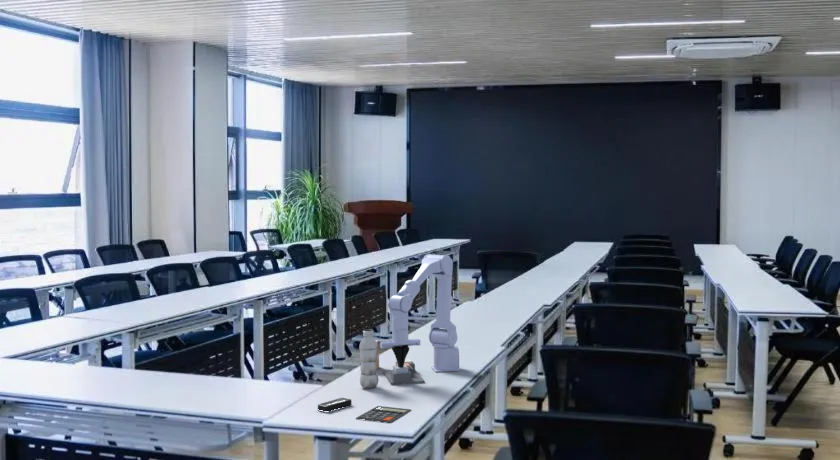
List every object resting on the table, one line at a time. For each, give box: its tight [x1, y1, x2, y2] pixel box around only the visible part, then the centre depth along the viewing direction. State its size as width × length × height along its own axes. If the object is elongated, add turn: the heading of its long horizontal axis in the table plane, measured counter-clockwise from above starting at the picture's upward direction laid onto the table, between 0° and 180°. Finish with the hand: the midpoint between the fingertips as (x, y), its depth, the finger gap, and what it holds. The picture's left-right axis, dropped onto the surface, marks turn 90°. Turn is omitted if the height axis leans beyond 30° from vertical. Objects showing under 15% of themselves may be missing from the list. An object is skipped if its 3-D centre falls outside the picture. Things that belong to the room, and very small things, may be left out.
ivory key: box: [404, 358, 413, 364], centre depth 312 cm, size 4×4×2 cm
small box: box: [359, 339, 380, 369], centre depth 320 cm, size 8×6×10 cm
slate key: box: [393, 365, 408, 374], centre depth 298 cm, size 4×4×2 cm
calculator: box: [355, 405, 412, 424], centre depth 257 cm, size 12×1×15 cm
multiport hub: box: [317, 397, 352, 411], centre depth 265 cm, size 4×11×2 cm, turn 140°
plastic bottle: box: [358, 329, 379, 389], centre depth 290 cm, size 6×7×20 cm
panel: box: [382, 361, 426, 386], centre depth 305 cm, size 12×20×4 cm, turn 11°
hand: (400, 366), depth 298 cm, fingers closed
